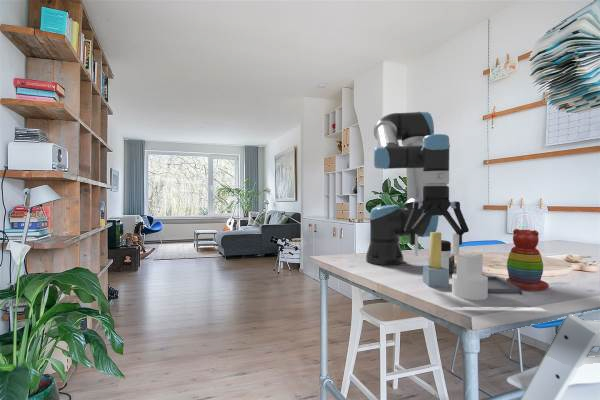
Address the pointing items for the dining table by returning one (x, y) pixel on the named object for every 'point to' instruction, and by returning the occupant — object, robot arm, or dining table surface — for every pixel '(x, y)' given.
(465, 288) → the base with upright slab
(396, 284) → the dining table surface
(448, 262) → the medicine bottle
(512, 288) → the tray
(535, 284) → the stacking bear
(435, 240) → the dowel
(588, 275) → the dining table surface
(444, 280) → the pen cup
